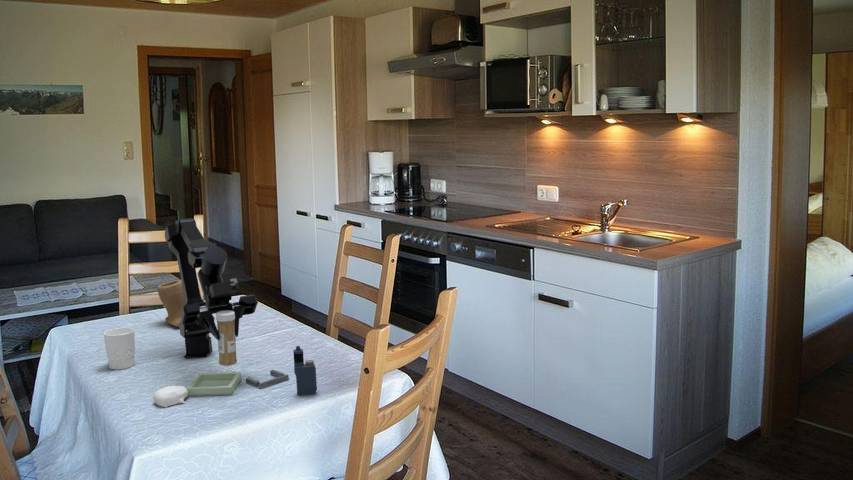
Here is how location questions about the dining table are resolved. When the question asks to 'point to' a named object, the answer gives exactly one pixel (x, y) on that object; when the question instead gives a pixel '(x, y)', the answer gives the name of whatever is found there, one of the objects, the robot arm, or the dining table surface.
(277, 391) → the dining table surface
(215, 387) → the tray
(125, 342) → the white cup
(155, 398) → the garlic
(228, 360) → the sprinkles bottle
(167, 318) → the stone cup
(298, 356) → the vaping device
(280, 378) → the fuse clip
